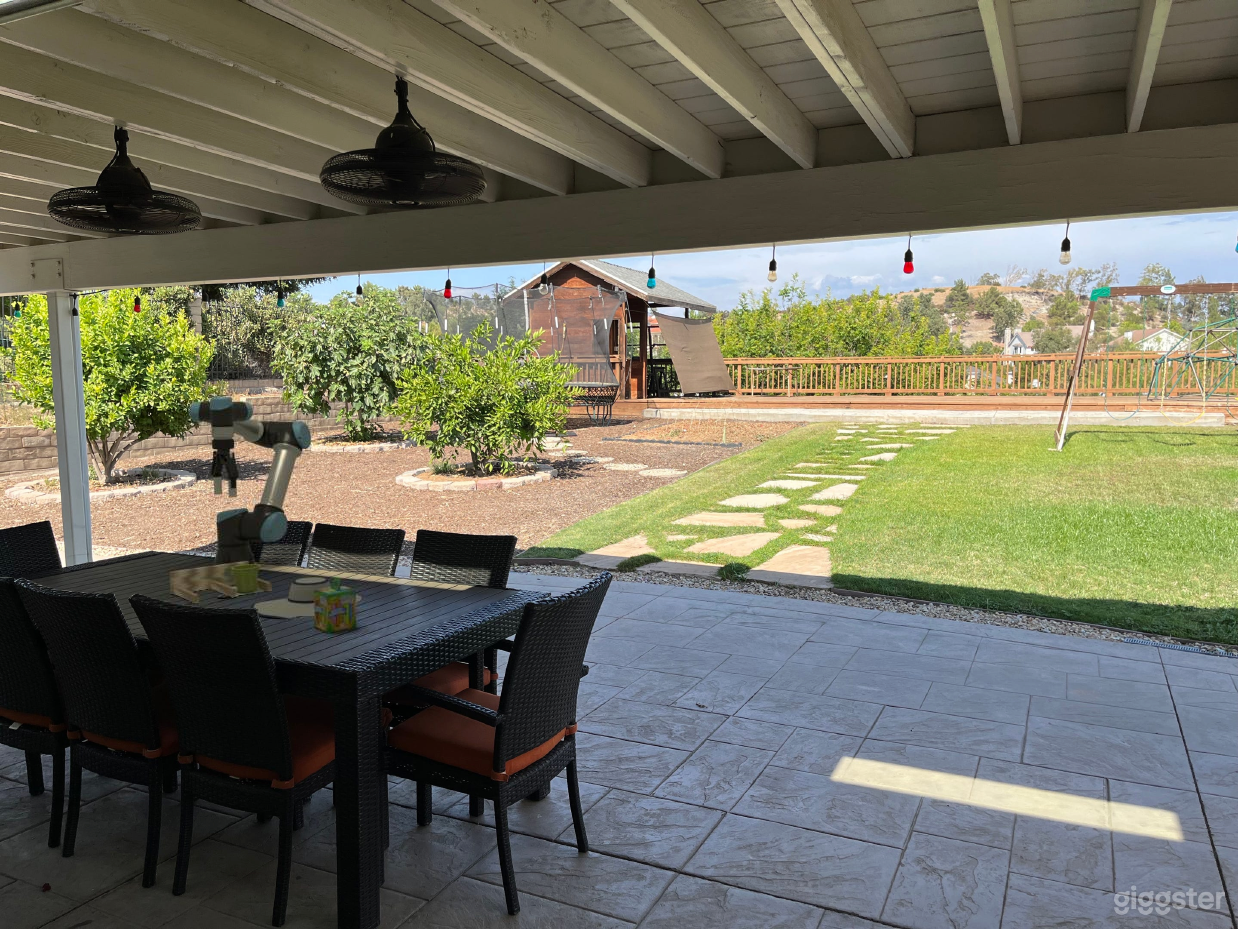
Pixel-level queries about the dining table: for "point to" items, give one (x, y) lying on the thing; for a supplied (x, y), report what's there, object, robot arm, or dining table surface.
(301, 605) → the sun hat
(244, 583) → the plant pot
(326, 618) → the chalk box
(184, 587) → the notch rack
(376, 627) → the dining table surface
